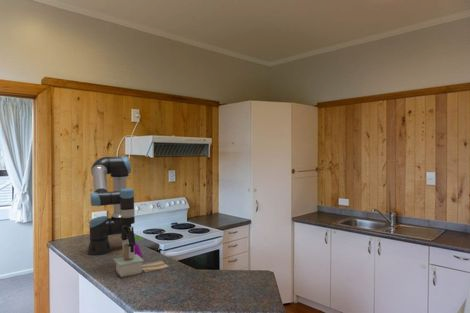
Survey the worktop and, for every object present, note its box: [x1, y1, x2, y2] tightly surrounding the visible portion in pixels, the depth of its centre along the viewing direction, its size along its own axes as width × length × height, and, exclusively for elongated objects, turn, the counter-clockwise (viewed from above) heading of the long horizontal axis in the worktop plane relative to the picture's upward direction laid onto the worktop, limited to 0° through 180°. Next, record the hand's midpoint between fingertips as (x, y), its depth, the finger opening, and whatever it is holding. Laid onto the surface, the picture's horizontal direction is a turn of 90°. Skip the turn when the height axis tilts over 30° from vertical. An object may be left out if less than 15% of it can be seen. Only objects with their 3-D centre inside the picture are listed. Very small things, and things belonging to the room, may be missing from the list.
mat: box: [141, 259, 170, 274], centre depth 185 cm, size 14×14×1 cm
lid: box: [113, 243, 145, 267], centre depth 177 cm, size 13×13×9 cm
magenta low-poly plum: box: [134, 236, 144, 259], centre depth 198 cm, size 11×11×15 cm
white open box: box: [115, 263, 143, 278], centre depth 177 cm, size 11×11×6 cm
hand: (128, 254), depth 177 cm, fingers open, 13 cm apart
